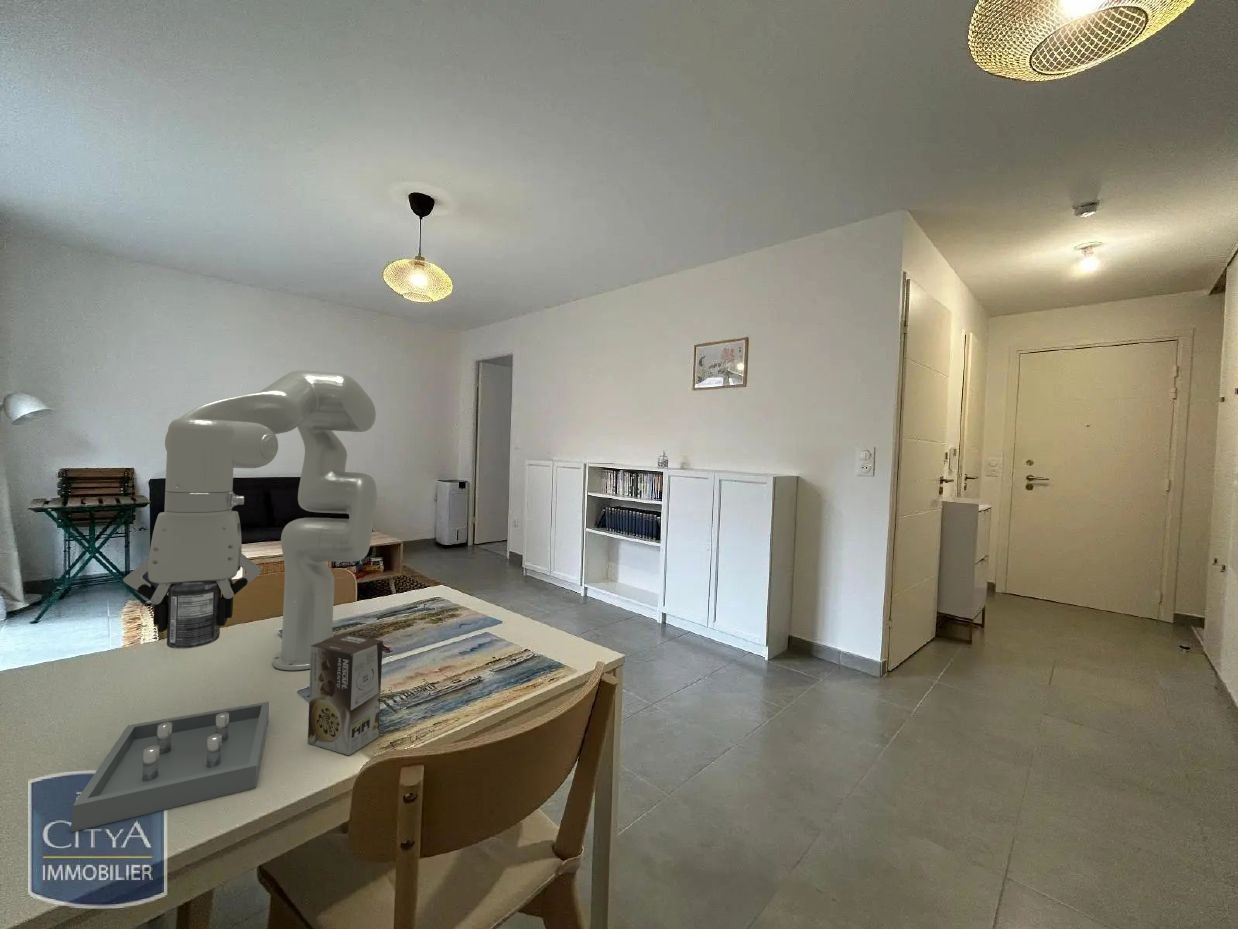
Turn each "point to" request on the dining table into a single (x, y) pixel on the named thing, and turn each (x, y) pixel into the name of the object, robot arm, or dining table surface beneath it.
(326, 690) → the coffee box
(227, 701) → the dining table surface
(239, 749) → the pin tray
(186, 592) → the pill bottle
